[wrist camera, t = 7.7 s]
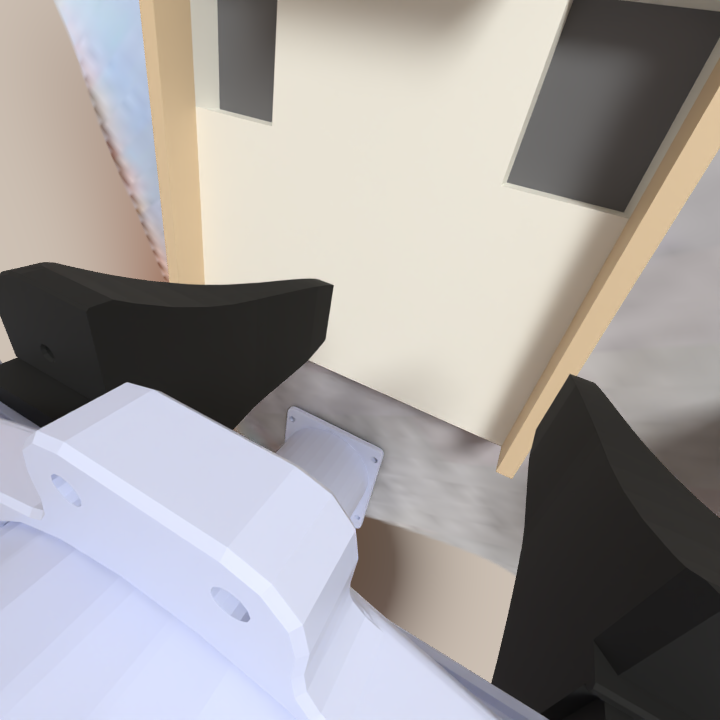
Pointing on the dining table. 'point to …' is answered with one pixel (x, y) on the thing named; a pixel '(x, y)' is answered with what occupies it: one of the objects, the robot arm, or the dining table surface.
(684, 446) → the dining table surface
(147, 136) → the dining table surface
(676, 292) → the dining table surface
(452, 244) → the shallow cream tray
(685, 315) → the dining table surface
